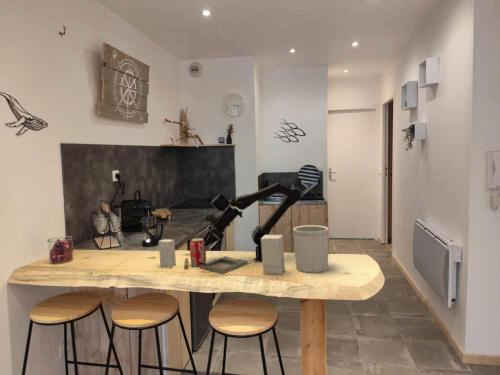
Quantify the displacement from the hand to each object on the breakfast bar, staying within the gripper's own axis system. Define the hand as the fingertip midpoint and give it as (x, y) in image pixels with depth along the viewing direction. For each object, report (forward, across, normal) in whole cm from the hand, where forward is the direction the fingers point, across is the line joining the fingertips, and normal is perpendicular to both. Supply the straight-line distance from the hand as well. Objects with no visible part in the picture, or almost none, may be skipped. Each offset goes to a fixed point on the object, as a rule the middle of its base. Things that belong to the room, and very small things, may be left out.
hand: (203, 243), depth 167 cm
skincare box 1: (+19, -2, -5) cm, 20 cm away
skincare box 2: (-13, +19, +27) cm, 36 cm away
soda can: (+9, 0, +5) cm, 11 cm away
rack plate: (+1, +5, +13) cm, 14 cm away
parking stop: (+13, 0, +1) cm, 13 cm away
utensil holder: (-25, +18, +39) cm, 50 cm away
